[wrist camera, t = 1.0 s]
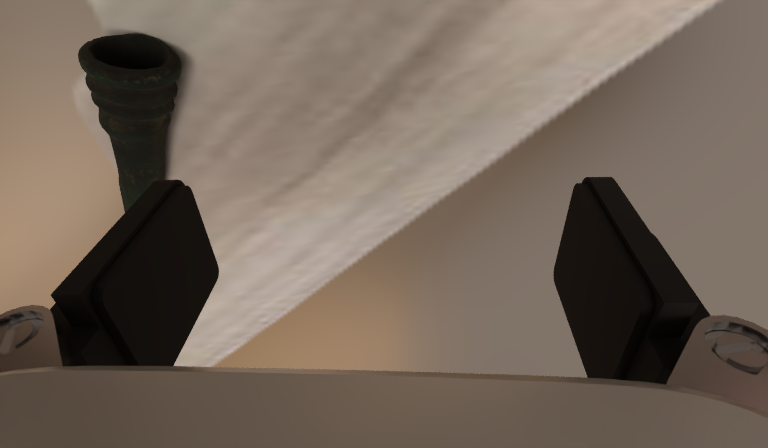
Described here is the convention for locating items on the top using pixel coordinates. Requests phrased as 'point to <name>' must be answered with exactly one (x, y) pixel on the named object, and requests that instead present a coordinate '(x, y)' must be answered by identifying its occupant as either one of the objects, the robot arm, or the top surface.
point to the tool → (133, 103)
